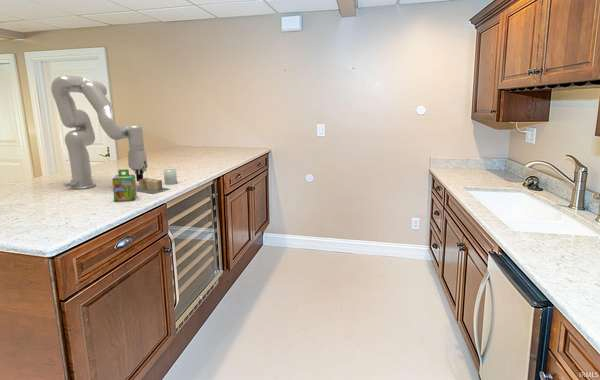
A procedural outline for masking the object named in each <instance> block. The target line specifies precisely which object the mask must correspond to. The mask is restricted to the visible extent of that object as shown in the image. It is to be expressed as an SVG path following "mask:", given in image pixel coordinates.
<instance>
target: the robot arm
mask: <svg viewBox="0 0 600 380" xmlns="http://www.w3.org/2000/svg"><path fill="white" fill-rule="evenodd" d="M50 89H51V90H50V91H51V94H52V97H53V99H54V102H55V104H56V108H57V111H58V114H59V118H60V121H61V122H62V125H63V126H64V127H66V128H69V129H74V130H70V131H68V132H67V133H66V134H65V136H64V143H65V146H66V150H67V152H68V159H69V165H70V171H71V178H72V179H70V182H64V183H63V186H64V187H65V188H66V187H70V189H72V190H87V189H91V188H94V187H96V185H97V184H96V183H95V182H93V176H92V169H91V168H92V167H91V161H90V153H89V152H88V149H87V147H89V146H92V145H93V144H94V142H95V141H96V135H95V130H94V128H93V124H92V121H91V118H90V116H89V115H88V113H87V112H86V111H85V110H82V109H77V107H76V102H75V100H74V99H73V97H72V96H71V94H70V93H80V94H83V95H84V97H85V98H86V99H87V100H88V102H89V104H90V105H91V106H92V108H93V110H95V112H96V114H97V118H98V123H99V126H100V127H101V128H102V129H103V131H104V133H106V135H107V137H109V138H110V139H111V140H114V141H119V140H124V139H127V141H128V149H129V150H128V153H127V154H128V155H127V158H128V159H127V160H128V168H129V169H130V170H132V171H133V172H134V175H135V180H136V182H139V180H140V179H144V172H147V168H148V159H147V154H146V151H145V143H144V134H143V133H144V132H143V127H142V126H141V125H128V124H119V125H118V124H117V123H116V122H115V120H114V118H113V116H112V109H113V105H112V103H111V102H110V100H109V99H108V98H107V93H108V91H107V87H106V86H105V84H103V83H102V82H99V81H95V80H91V79H88V78H85V77H83V76H77V75H68V74H67V75H65V74H64V75H59V76H57V77H55V78H54V79H53V81H52V82H51V86H50Z"/></svg>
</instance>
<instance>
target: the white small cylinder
mask: <svg viewBox="0 0 600 380" xmlns="http://www.w3.org/2000/svg"><path fill="white" fill-rule="evenodd" d="M163 178H164V179H163V180H164V185H167V186H169V185H170V186H172V185H173V186H174V185H177V184H178V177H177V169H175V168H168V169H167V168H166V169H164V170H163Z"/></svg>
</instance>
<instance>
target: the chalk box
mask: <svg viewBox="0 0 600 380" xmlns="http://www.w3.org/2000/svg"><path fill="white" fill-rule="evenodd" d="M117 172H118V174H117V175H115V176H113V178H112V179H111V180H112V188H113V189H112V190H113V201H114V202H129V201H130V202H133V201H135V200H136V198H137V191H136V190H137V185H136V182H137V180H136V174H130V171H129V169H118V170H117ZM123 172H124V174H122V173H123Z"/></svg>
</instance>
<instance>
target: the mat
mask: <svg viewBox="0 0 600 380" xmlns="http://www.w3.org/2000/svg"><path fill="white" fill-rule="evenodd" d="M162 188H163V189H161V190H158V191H152V190H146V189H140V188H138V189H136V193H137V192H139V193H144V194H151V195H154V194H159V193H162V192H166V191H168V190H171V188H167V187H162Z"/></svg>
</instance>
